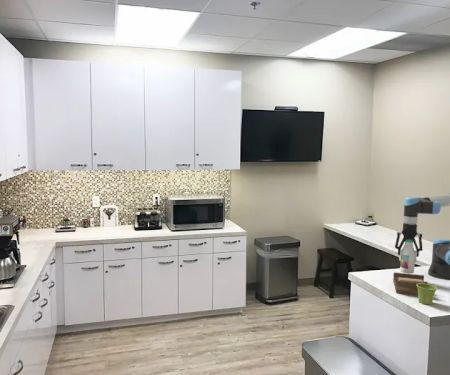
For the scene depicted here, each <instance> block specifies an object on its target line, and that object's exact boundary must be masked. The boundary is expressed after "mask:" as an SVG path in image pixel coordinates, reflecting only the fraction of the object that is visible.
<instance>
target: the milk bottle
mask: <svg viewBox="0 0 450 375" xmlns="http://www.w3.org/2000/svg"><path fill="white" fill-rule="evenodd" d="M401 250H402V255H401V261H400V266H399V271H400V273H406V274H414V273H415V266H416V264H415V263H416V262H415V251H416V249H414V242H413V239H406V240H405V242H404V244H403V246H402V248H401Z"/></svg>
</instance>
